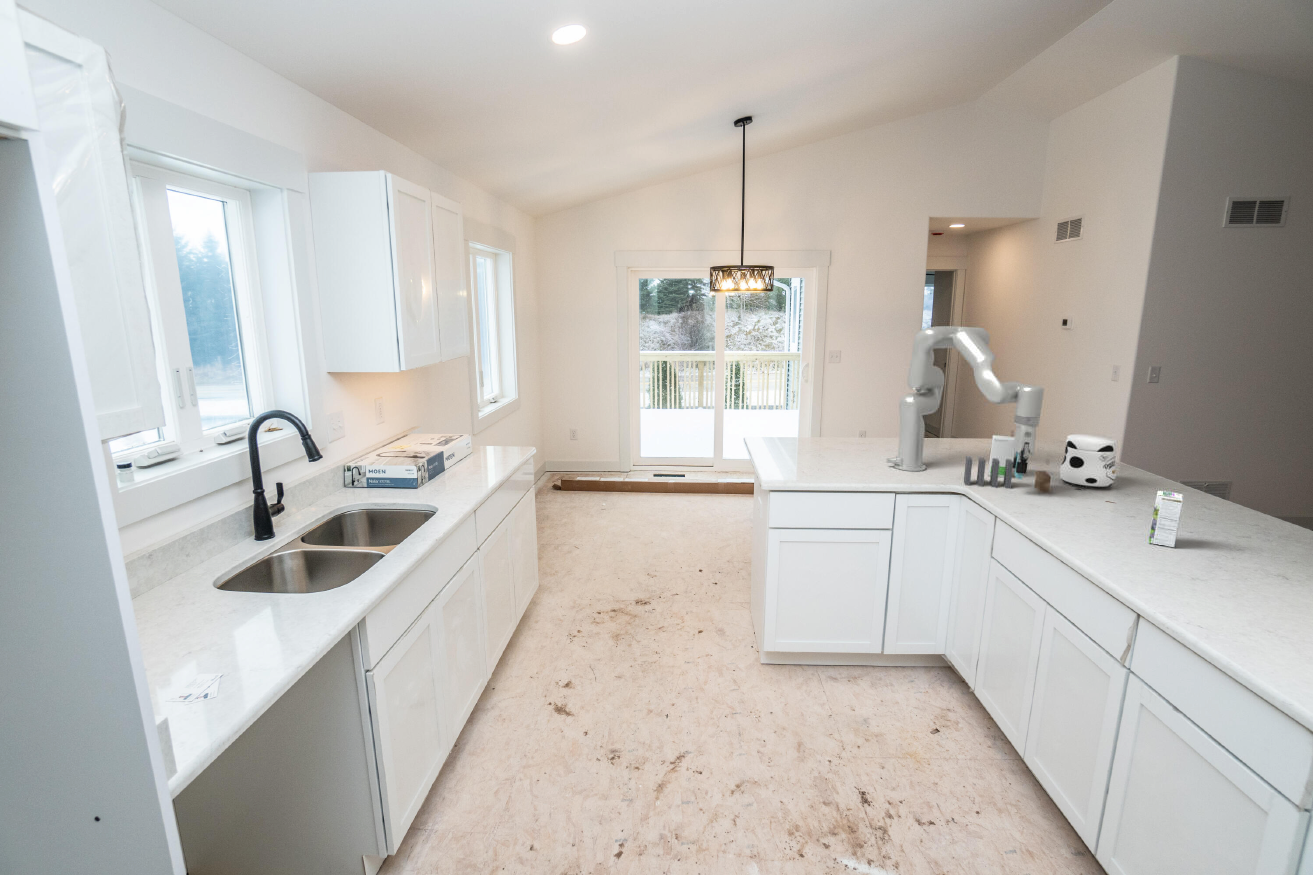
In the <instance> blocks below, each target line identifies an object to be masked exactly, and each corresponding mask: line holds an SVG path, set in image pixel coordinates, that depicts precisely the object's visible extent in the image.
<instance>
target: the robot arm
mask: <svg viewBox="0 0 1313 875" xmlns="http://www.w3.org/2000/svg"><path fill="white" fill-rule="evenodd" d="M990 338H991V337H990V334H989V332H988V331H987V330H986V329H984V328H983V327H972V326H971V327H970V326H969V327H968V326H958V325H957V326H955V325H954V326H953V325H951V326H949V325H947V326H945V325H943V326H942V325H941V326H940V325H939V326H930V327H926V328H924V329H921V330H920V331H918V333H916V335H915V336H914V338H913V342H912V352H911V358H910V364H909V368H908V373H907V381H906V382H907V386H908V388H910V390H913V391H920V392H911V393H907V394H905V395H903V396H902V397H901V398H900V400H899V402H898V410H899V412H898V413H899V436H898V439H899V440H898V450H897V451H898V453H897V455H895V457H893V458H892V457H891V458H890V457H887V458H886V459H885V463H886V464H890V463H891V464H893V468H895V469H897V470H900V471H906V472H907V471H908V472H922V471H925V470H926V468H927V466H926V465H925V464H923V456H924V454H923V453H924V443H925V430H926V428H925V422H924V421H925V420H924V418H923V416H925V415H930V414H934V413H936V412H937V410H938V409H939V407H940V404H941V400H942V395H943V390H944V386H945V374H944V372H943V370H942V369H941V368H940V367H939V366H935V365H934V363H935V362H934V361H935V353H934V350H935V349H957V351H958V352H959V353H960V355H961V356H962V357H963V358H964V359H965V361H966V362H967V364H969V366H970V367H971V368H972V369H973V376H974V377H973V378H974V380H975V384H976V386H977V388H978V389H979V390H980V392H981V393H982V395H983V396H984V397H985V398H986V399H987V400H988V401H989V402H991V403H992V404H995V405H1006V404H1007V405H1008V404H1015V403H1016V404H1015V405H1016V406H1015V413H1014V421H1013V424H1014V425H1015V426H1016V427H1015V433H1014V437H1015V438H1014V449H1015V453H1014V461H1013V470H1014V469H1015V468H1016V473H1023V475H1024V474H1025V475H1026V474H1027V471H1028V464H1029V463H1028V462H1029V455H1031V456H1032V455H1035V449H1036V448H1035V446H1036V436H1037V428H1038V427H1040V420H1041V419H1040V418H1041V414H1042V408H1043V400H1044V395H1045V389H1044V388H1043V387H1042V386H1040V385H1036V384H1035V385H1034V384H1025V383H1023V382H1022V383H1021V382H1018V381H1008V382H1007V381H1004V382H1001V381H1000V379H999V378H998V377H997V376H996V375H995V373H994V371H993V368H992V365H993V364H994V362H995V361H996V359H997V358H996V354H995V353H994V351H993V350H991V348H990V347H989V343H990ZM1021 452H1024V453H1021ZM1018 453H1019V458H1018V462H1017V455H1018ZM1021 455H1023V456H1022V457H1021ZM1016 462H1017V466H1016Z"/></svg>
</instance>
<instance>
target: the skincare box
mask: <svg viewBox="0 0 1313 875" xmlns="http://www.w3.org/2000/svg"><path fill="white" fill-rule="evenodd" d="M1014 438H1015V436H1008V435H1007V436H1006V435H992V440H991V446H990V447H991V449H990V456H989V462H988V463H989V464H988V471H987V472H988V476H989V477H991V469H992V459H993V458H997V459H998V460H999V461H1000V463H999V473H998V478H1004V473H1005V463H1006V459H1011V460H1012V461H1014V458H1015V457H1014V456H1015V451H1016V450H1015V449H1014Z"/></svg>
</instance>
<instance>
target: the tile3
mask: <svg viewBox="0 0 1313 875" xmlns="http://www.w3.org/2000/svg"><path fill="white" fill-rule="evenodd" d="M999 463H1000V461H999V460H998V459H997V458H993V459H992V469H991V476H990V481H989V485H990V486H991V488H996V489H997V488H998V480H999V477H998V473H999Z"/></svg>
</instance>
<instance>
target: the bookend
mask: <svg viewBox="0 0 1313 875" xmlns="http://www.w3.org/2000/svg"><path fill="white" fill-rule="evenodd" d="M1051 478H1052V477H1051V475H1050V474H1049V473H1048V472H1047V471H1046V470H1035V480H1034V488H1036V490H1037V491H1038V492H1039V493H1048V494H1049V493H1050V488H1051V487H1050V486H1051V481H1052V479H1051Z"/></svg>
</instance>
